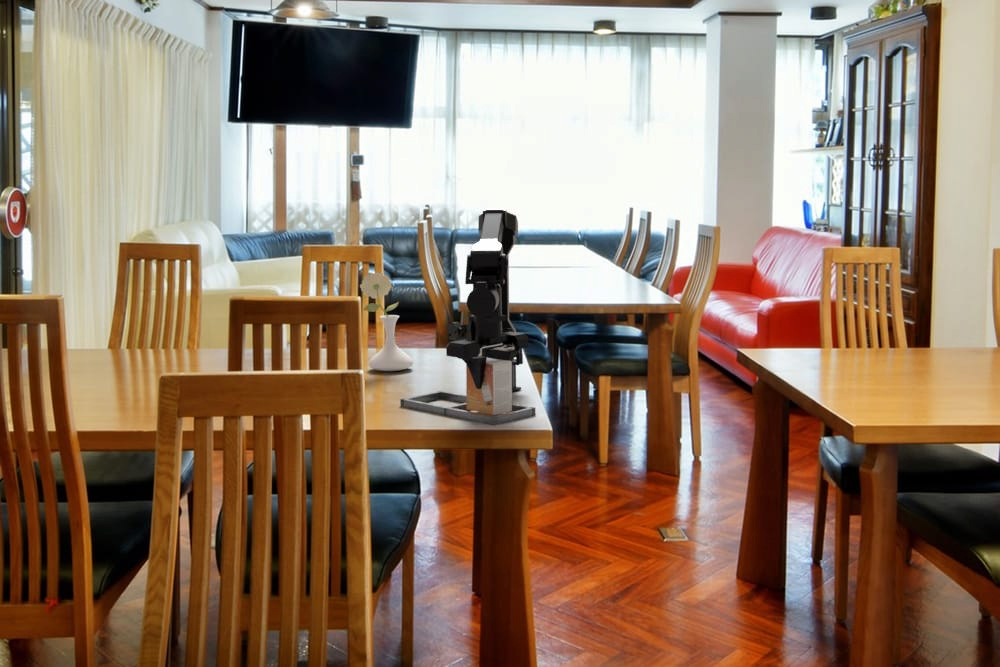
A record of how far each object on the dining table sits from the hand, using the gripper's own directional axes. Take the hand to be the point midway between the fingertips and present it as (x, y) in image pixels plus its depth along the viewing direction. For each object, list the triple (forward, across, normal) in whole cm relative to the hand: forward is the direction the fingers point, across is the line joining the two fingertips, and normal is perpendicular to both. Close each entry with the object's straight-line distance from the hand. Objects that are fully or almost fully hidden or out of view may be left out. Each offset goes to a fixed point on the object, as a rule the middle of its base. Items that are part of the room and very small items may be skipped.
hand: (489, 386), depth 221 cm
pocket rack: (+6, 0, -7) cm, 9 cm away
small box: (+5, 0, 0) cm, 5 cm away
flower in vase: (+6, -21, -56) cm, 61 cm away
